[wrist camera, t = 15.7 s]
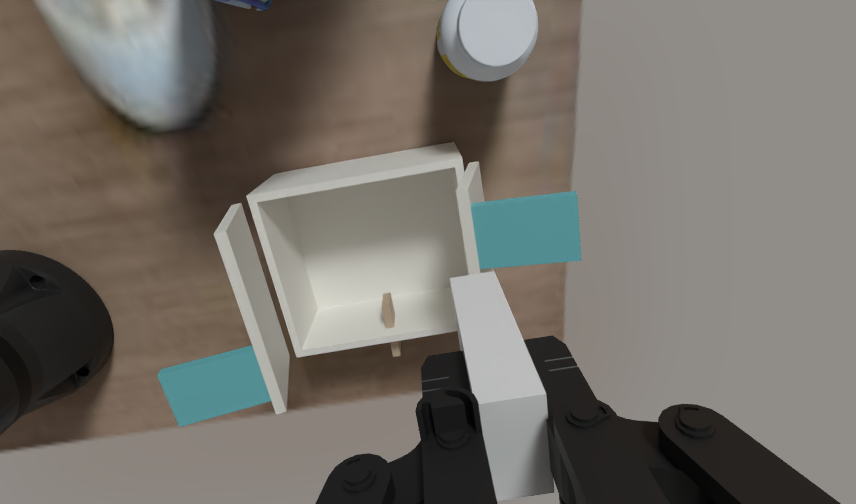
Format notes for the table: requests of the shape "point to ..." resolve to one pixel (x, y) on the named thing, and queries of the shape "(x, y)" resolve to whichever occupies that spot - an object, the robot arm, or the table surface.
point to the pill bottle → (487, 37)
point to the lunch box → (249, 4)
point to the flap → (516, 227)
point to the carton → (364, 248)
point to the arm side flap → (242, 368)
